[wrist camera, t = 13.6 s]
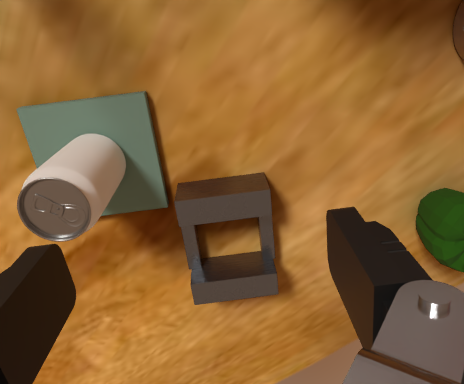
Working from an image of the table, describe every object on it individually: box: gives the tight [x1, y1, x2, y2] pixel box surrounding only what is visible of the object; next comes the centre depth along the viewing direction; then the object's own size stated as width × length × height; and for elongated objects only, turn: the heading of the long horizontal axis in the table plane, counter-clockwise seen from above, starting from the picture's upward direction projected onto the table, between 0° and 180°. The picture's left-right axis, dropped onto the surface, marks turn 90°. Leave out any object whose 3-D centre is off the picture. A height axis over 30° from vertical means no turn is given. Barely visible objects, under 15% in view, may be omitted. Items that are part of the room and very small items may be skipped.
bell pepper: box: [416, 188, 464, 272], centre depth 42 cm, size 8×8×10 cm
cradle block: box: [174, 173, 278, 305], centre depth 44 cm, size 11×14×5 cm
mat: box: [17, 91, 169, 216], centre depth 41 cm, size 13×13×1 cm
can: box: [17, 134, 126, 242], centre depth 35 cm, size 6×6×12 cm
